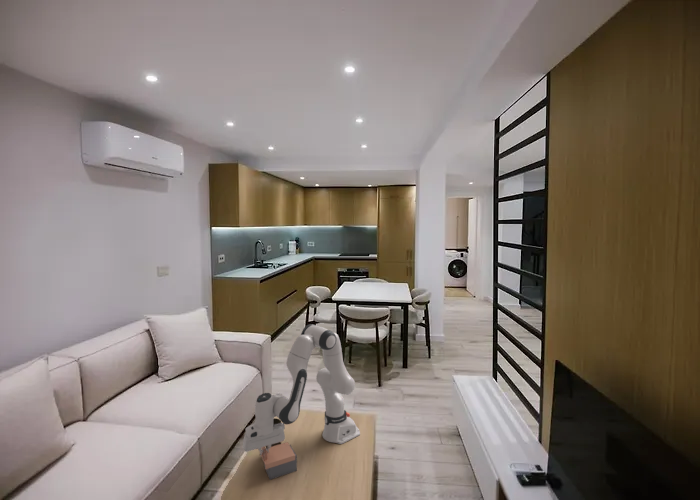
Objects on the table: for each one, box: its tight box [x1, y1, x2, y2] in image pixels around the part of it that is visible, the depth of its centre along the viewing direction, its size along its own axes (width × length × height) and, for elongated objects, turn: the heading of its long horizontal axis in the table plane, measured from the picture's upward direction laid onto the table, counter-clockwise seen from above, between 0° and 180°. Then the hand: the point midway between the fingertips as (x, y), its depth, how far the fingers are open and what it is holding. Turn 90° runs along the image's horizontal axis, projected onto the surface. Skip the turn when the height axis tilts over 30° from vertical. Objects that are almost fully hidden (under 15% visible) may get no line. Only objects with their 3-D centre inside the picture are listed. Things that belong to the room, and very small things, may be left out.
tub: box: [263, 444, 298, 481], centre depth 181 cm, size 14×10×8 cm
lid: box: [260, 441, 295, 470], centre depth 180 cm, size 15×12×6 cm
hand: (264, 453), depth 177 cm, fingers closed on lid
